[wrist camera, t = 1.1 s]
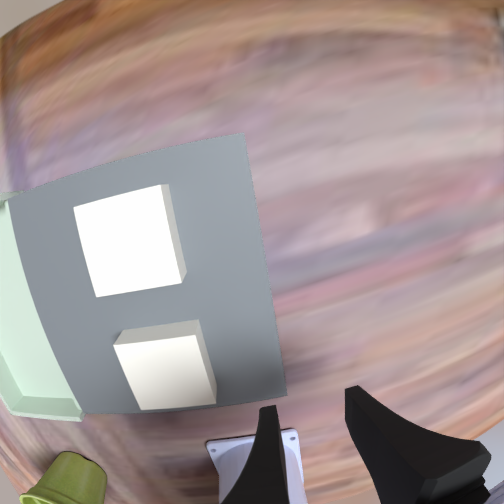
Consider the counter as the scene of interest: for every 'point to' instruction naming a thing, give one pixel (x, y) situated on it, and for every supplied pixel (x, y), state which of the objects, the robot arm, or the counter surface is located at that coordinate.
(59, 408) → the tray
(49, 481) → the plant pot
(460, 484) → the robot arm
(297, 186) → the counter surface
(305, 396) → the counter surface
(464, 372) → the counter surface
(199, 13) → the counter surface
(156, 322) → the board
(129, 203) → the tile
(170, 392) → the tile
